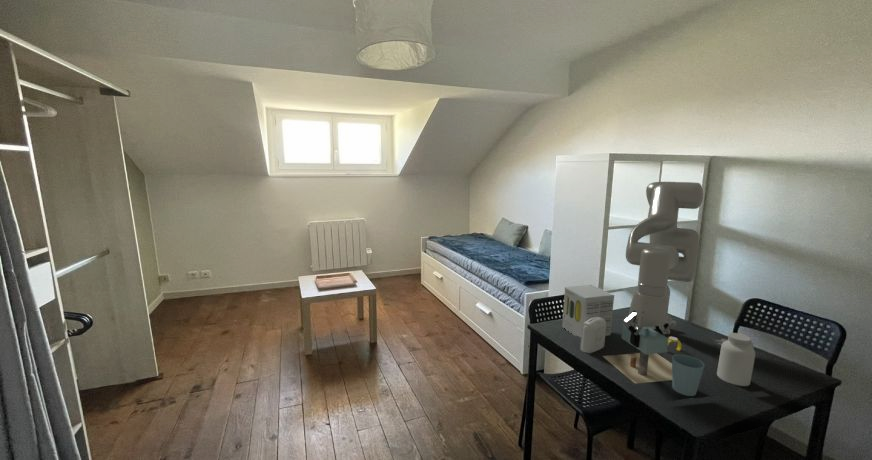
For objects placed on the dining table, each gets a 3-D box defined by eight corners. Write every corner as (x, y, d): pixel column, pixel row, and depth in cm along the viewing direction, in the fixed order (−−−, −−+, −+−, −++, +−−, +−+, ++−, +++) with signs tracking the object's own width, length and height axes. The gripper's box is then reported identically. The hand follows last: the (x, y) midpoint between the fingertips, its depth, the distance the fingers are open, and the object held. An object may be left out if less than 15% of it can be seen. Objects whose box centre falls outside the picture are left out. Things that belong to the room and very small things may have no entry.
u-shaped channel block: (666, 352, 107) (668, 338, 106) (645, 354, 106) (647, 340, 105) (641, 336, 117) (642, 323, 116) (621, 338, 116) (622, 325, 115)
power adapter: (712, 352, 127) (714, 337, 126) (709, 346, 132) (711, 332, 131) (752, 360, 122) (755, 344, 121) (748, 354, 127) (750, 338, 126)
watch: (667, 357, 125) (668, 341, 124) (661, 353, 128) (662, 337, 127) (682, 354, 126) (683, 339, 125) (676, 350, 128) (677, 335, 127)
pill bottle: (727, 388, 107) (734, 341, 104) (710, 373, 114) (717, 329, 112) (756, 390, 106) (764, 343, 103) (737, 375, 113) (745, 331, 111)
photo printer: (594, 344, 133) (597, 313, 131) (605, 349, 129) (608, 317, 127) (577, 352, 127) (580, 319, 125) (588, 357, 124) (591, 324, 122)
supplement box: (561, 327, 148) (563, 286, 145) (588, 323, 151) (591, 284, 148) (582, 342, 135) (585, 298, 132) (611, 337, 138) (615, 294, 135)
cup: (689, 386, 107) (694, 354, 106) (706, 402, 100) (711, 368, 98) (663, 384, 108) (667, 353, 106) (677, 401, 101) (681, 367, 99)
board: (654, 355, 126) (656, 334, 124) (693, 381, 110) (696, 358, 109) (602, 359, 123) (604, 338, 121) (634, 387, 107) (637, 363, 106)
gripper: (666, 284, 113) (660, 336, 116) (617, 286, 109) (612, 340, 112) (687, 291, 105) (679, 347, 108) (635, 295, 102) (629, 352, 105)
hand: (645, 343), depth 110 cm, fingers closed on u-shaped channel block, 7 cm apart
